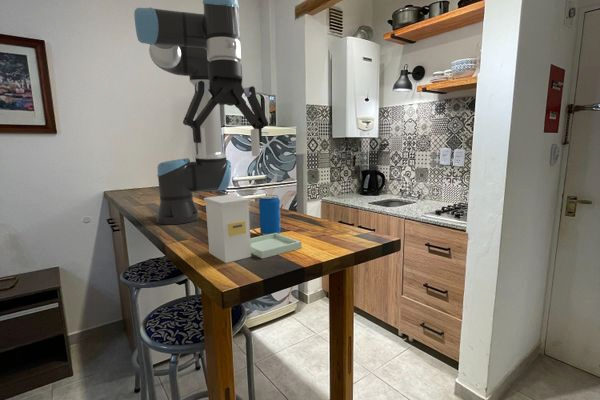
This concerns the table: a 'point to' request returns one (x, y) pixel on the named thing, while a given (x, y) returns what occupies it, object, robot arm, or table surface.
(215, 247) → the block
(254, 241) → the tray
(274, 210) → the beverage can
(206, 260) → the table surface
